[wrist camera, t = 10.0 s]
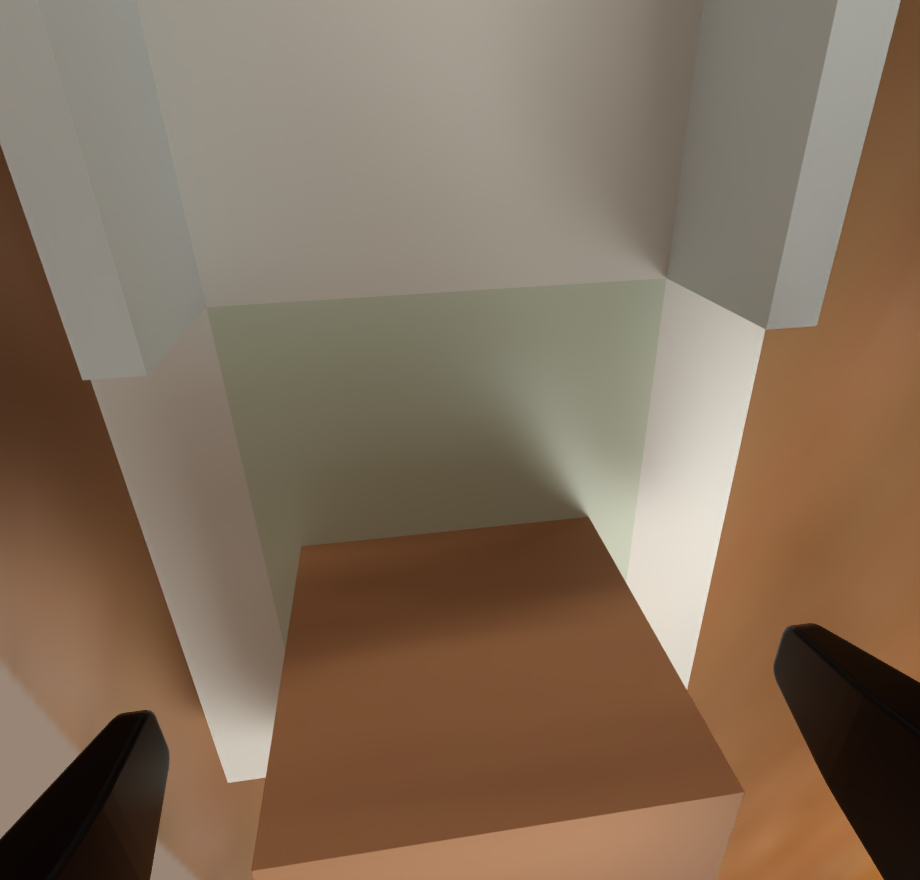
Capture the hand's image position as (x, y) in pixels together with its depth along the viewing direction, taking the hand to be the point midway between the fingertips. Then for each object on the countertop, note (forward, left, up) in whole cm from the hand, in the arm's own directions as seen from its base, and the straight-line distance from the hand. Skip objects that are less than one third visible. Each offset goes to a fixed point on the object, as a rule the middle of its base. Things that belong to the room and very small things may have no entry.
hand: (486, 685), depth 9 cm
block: (-1, +1, -3) cm, 3 cm away
